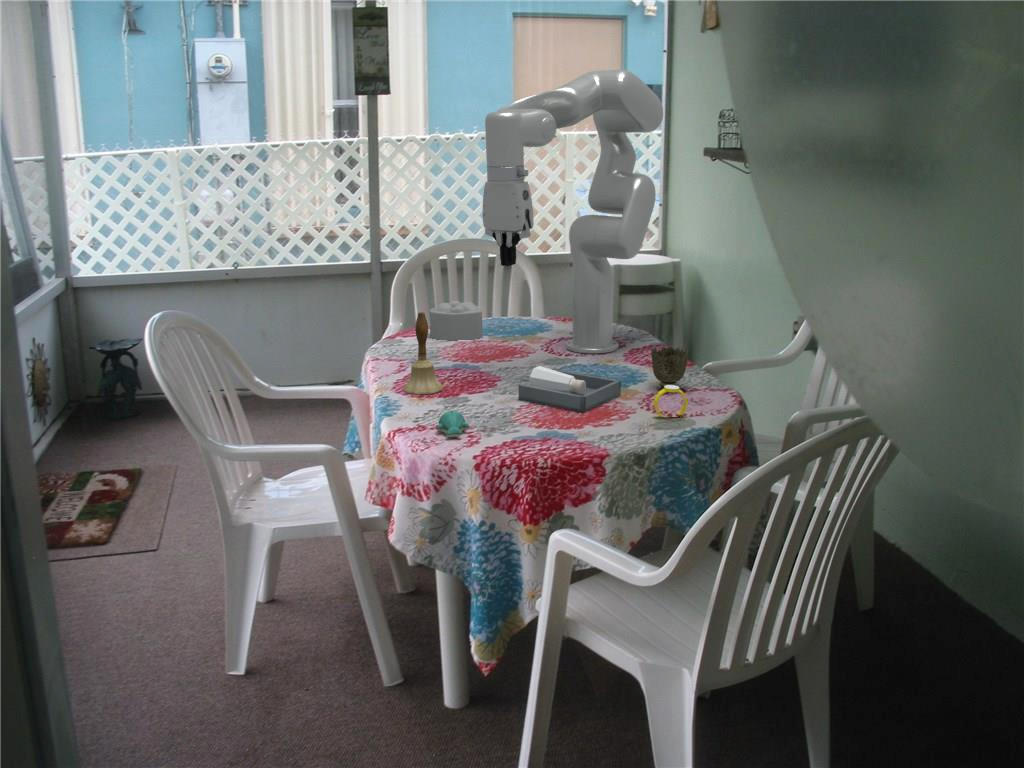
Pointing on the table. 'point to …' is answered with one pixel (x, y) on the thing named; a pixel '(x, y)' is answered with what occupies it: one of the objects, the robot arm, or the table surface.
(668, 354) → the cup
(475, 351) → the table surface
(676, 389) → the watch
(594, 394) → the tray
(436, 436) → the table surface
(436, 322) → the lumpy-topped squat cylinder
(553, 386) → the pepper shaker
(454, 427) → the whale figurine
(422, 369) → the hand bell
